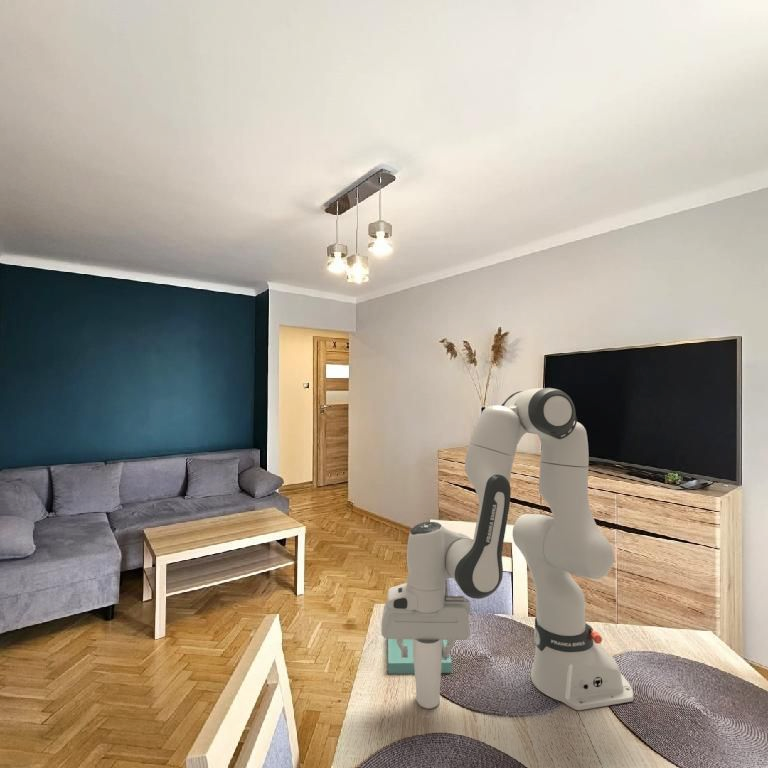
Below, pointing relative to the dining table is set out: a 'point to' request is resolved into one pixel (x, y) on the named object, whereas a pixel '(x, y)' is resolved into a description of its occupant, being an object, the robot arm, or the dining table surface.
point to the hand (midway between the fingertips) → (424, 656)
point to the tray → (409, 658)
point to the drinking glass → (427, 671)
